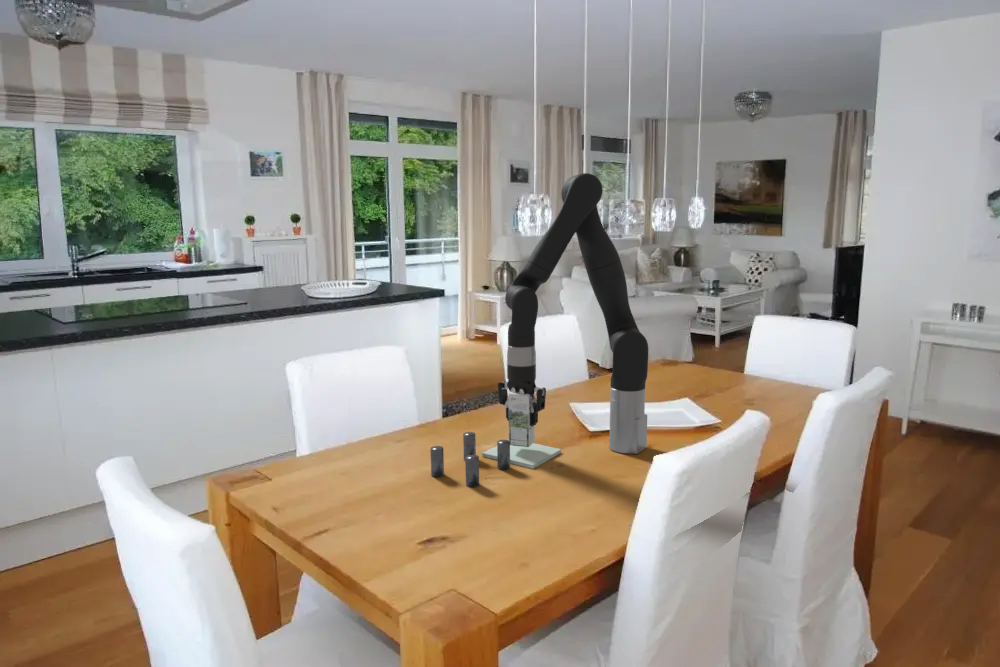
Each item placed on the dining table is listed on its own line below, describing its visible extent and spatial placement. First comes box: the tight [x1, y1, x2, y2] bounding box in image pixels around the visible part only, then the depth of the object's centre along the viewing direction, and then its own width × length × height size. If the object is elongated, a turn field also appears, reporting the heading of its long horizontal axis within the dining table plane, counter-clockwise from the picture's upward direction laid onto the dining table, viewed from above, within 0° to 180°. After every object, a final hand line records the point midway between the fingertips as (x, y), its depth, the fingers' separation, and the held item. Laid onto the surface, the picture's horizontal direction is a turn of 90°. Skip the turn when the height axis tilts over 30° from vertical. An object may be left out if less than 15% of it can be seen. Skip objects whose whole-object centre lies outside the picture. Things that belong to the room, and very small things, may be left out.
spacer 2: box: [462, 431, 477, 461], centre depth 184 cm, size 3×3×7 cm
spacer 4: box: [496, 439, 511, 471], centre depth 178 cm, size 3×3×7 cm
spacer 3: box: [464, 454, 480, 488], centre depth 168 cm, size 3×3×7 cm
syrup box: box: [508, 391, 536, 447], centre depth 186 cm, size 6×6×14 cm
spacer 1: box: [429, 445, 445, 478], centre depth 174 cm, size 3×3×7 cm
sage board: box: [481, 442, 562, 470], centre depth 188 cm, size 16×14×1 cm
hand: (521, 422), depth 186 cm, fingers closed on syrup box, 6 cm apart
